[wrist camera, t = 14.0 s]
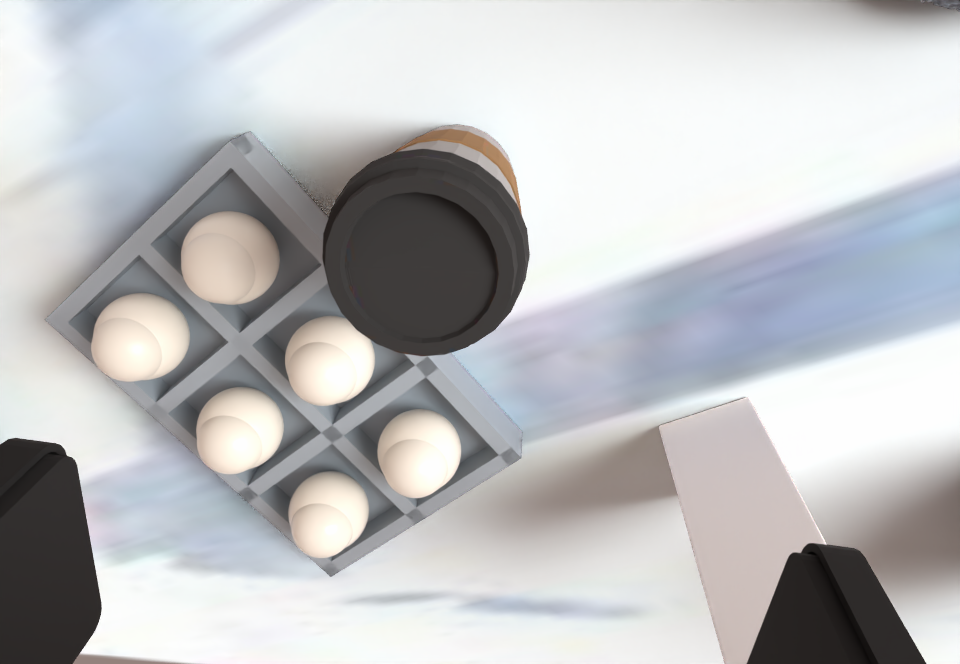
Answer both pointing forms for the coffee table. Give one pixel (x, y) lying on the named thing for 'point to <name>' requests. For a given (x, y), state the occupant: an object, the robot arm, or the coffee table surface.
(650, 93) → the coffee table surface
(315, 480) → the egg
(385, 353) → the carton
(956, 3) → the koala plush
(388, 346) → the coffee cup
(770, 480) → the milk
